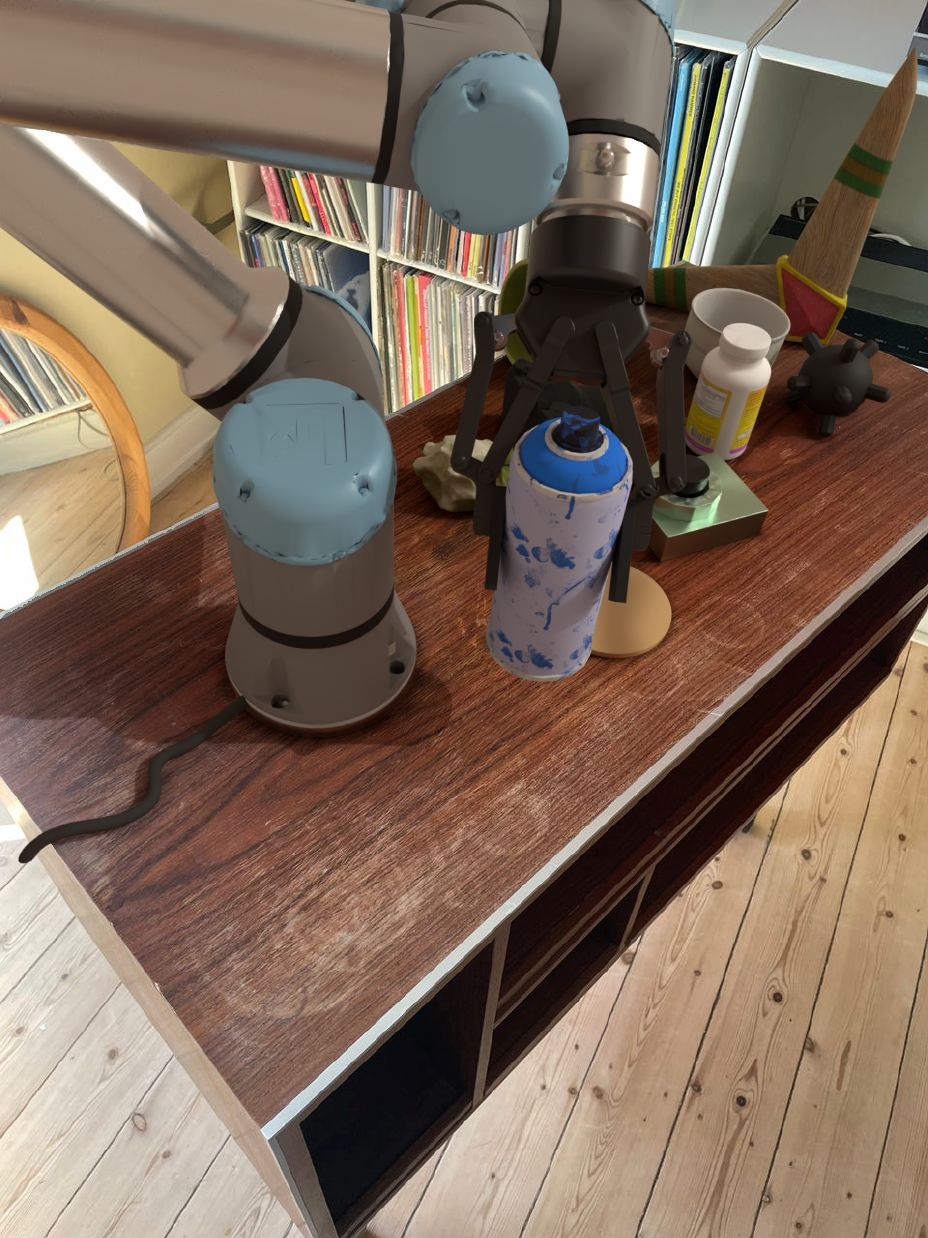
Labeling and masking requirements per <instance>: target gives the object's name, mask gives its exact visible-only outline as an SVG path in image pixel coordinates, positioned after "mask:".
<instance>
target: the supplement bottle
mask: <svg viewBox="0 0 928 1238" xmlns="http://www.w3.org/2000/svg"><path fill="white" fill-rule="evenodd" d="M770 344H771V338H770V336H769V334H768V333H767V332H766V331H765V330H763V329H761V328H760V327H757V326H755V325H751V324H746V323H735V324H730V325H728V326H726V327H725V328H724V329H723V331H722V334H721V337H720V340H719V345H720V346H719V347H716V348H714V349H713V350H711V351H710V352H709V353H708V354H707V355H706V357H705V359H704V361H703V364H702V368H701V371H700V375H699V379H698V378H697V379H698V380H697V383H696V386H695V390H694V393H693V396H692V401H691V403H690V409H689V411H688V414H687V415H688V416H687V419H686V421H685V445H686V447H688V448H689V450H691V451H692V453H694V454H696V455H698V456H703V455H707V454H711V453H715V452H717V453H718V455H719V456H720V457H721V458H722V459H723V460H724V461H731V460H734V459H736V458H738V457H740V456H741V455H742V454H743V453H744V452H745V450H746V449H747V446H748V444H749V440H750V438H751V435H752V432H753V430H754V426H755V423H756V420H757V417H758V415H759V412H760V409H761V405H762V403H763V400H764V398H765V397H764V396H765V394H766V391H767V389H768V386H769V382H770V379H771V376H772V367H770V364H769V362H768V361H767V359H766V358H765V356H766V355H767V353H768V351H769V347H770Z"/></svg>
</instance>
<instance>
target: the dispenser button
mask: <svg viewBox="0 0 928 1238" xmlns="http://www.w3.org/2000/svg"><path fill="white" fill-rule="evenodd" d="M698 457H699V456H695V455H691V454H688V453H687V454H686V486H685V487H684V489H682V490H681V491H678V492H675V493H672V494H674V495H676V496H678V497H684V498H695V497H699V496H700V495H702V494H703V492H704V491H705V488H706V485H707V482H708V479H709V475H710V468H709V466H708V465H707V463H706V462H705V461H703V460H702V459H700V458H698Z"/></svg>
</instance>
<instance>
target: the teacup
mask: <svg viewBox="0 0 928 1238" xmlns="http://www.w3.org/2000/svg"><path fill="white" fill-rule="evenodd" d="M735 323H746V324H751V325H755V326H757V327H760V328H761V329H763V330H765V331H766V332H767V333H768V334H769V336H770V338H771V344H770V347H769V351H768V353H767V355H766V356H765V358H766V359H767V361H768V362H769V364H770V367H771V368H772V367H773V365H774V363H775V362H776V359H777V358H778V357H777V356H778V354H779V352H780V350H781V348H782V346H783V343H784V341H785V336H786V335H787V334H788V332H789V330H790V320H789V318H788V316H787V315H786V313H785V312H784V311H783V310H782V309H781V308H780V307H778V306H777V305H776V304H774V303H773V302H771V301H770V300H768V299H766V298H763V297H761V296H759V295H756V294H753V293H750V292H746V291H743V290H739V289H730V288H715V289H709V290H706V291H703V292H701V293H699V294H698V295H696V296H695V298H694V299H693V301H692V304H691V311H689V314H688V317H687V321H686V323H685V327H684V331H686V332H688V333H689V334H690V335H691V337H692V344H691V347H690V350H689V353H688V356H687V359H686V363H685V365H686V366H687V368H688V369H689V370H690V371H691V373H692V374H693V375H694V376H695V378H696V379H699V375H700V371H701V368H702V364H703V361H704V359H705V357H706V355H707V354H708V353H709V352H710V351H711V350H713V349H714V348H716V347H719V346H720V345H719V340H720V337H721V334H722V331H723V329H724V328H725V327H726V326H728V325H730V324H735Z"/></svg>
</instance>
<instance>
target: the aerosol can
mask: <svg viewBox="0 0 928 1238" xmlns="http://www.w3.org/2000/svg"><path fill="white" fill-rule="evenodd" d="M513 449H514V451H513V452H512V456H511V461H510V467H509V475H508V483H507V490H506V503H505V513H504V523H503V533H502V543H501V553H500V563H499V573H498V583H497V590H493V593H492V599H491V600H492V601H491V608H490V616H489V619H487V623H486V630H485V636H484V638H485V642H486V648H487V651H488V653H489V654H490V656H491V657H492V659H493V660H494V662H495V663H496V664H497V665H499V666H500V667H501V668H502V669H504V670H505V671H506V672H507V673H509V674H511V675H513V676H516V677H518V678H520V679H523V680H526V681H532V682H539V683H548V682H557V681H561V680H564V679H566V678H569V677H571V676H573V675H575V674H576V673H577V672H578V671H580V670H582V668H583V667H584V666H585V665H586V663H587V661H588V659H589V658H590V656H591V655H592V654H591V649H592V636H593V632H594V628H595V624H596V620H597V616H598V612H599V609H600V605H601V601H602V597H603V593H604V589H605V585H606V582H607V578H608V574H609V570H610V566H611V562H612V558H613V555H614V551H615V547H616V543H617V539H618V535H619V531H620V528H621V524H622V520H623V516H624V512H625V508H626V504H627V501H628V497H629V493H630V489H631V485H632V474H633V470H632V464H633V463H632V459H631V457H630V454H629V452H628V450H627V448H626V447H625V446H624V445H623V444H622V443H621V442H620V441H619V439H618V438H617V437H616V436H615V435H614V434H613V433H612V432H611V431H610V430H609V429H608V428H606V427H604V426H603V425H601V424H600V416H599V414H598V413H597V412H596V411H594V410H593V409H590V408H587V407H582V406H570V407H568V408H566V409H565V410H564V411H563V413H562V417H558V418H555V419H551V420H547V421H545V422H544V423H542V424H540V425H538V426H536V427H534V428H532V429H531V430H529V431H527V432H526V433H524V434H523V436H522V437H521V438H520V440H519V441H518V442H517V444H516V445H515V444H514V448H513Z"/></svg>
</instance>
